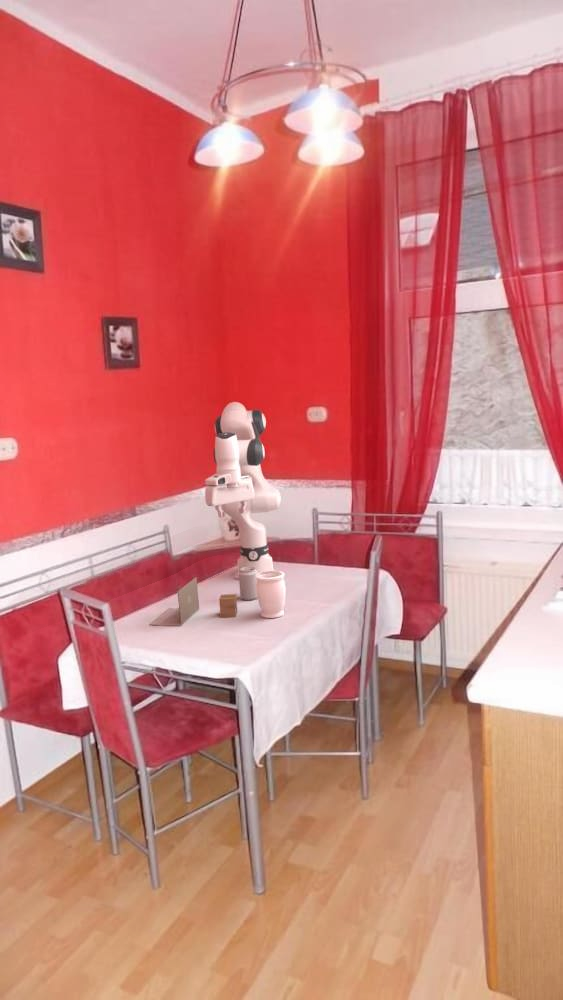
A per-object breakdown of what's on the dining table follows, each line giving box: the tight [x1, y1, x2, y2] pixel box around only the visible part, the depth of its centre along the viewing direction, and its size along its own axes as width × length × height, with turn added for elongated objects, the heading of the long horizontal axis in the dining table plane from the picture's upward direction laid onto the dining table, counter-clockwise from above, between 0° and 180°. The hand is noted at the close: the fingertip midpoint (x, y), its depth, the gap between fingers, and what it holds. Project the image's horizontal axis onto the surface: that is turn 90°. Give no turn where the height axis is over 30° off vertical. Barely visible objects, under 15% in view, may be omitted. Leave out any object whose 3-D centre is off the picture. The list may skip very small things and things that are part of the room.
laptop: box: [149, 577, 200, 627], centre depth 260 cm, size 18×12×13 cm
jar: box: [256, 570, 287, 619], centre depth 256 cm, size 11×10×15 cm
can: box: [238, 567, 258, 601], centre depth 277 cm, size 8×8×12 cm
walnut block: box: [218, 593, 238, 619], centre depth 259 cm, size 6×6×7 cm
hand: (231, 515), depth 262 cm, fingers open, 8 cm apart
